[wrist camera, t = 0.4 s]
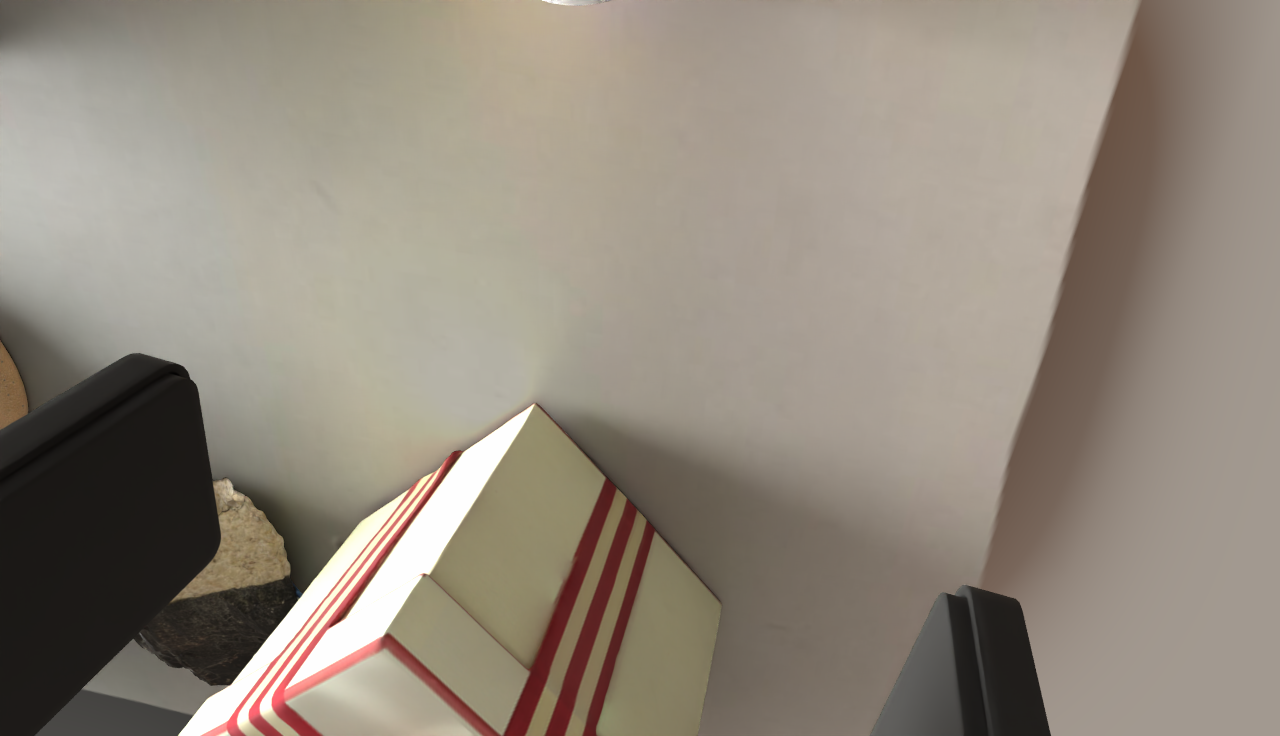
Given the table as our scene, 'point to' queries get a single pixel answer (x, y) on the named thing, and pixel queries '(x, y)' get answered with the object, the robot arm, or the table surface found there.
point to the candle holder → (10, 391)
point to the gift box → (488, 613)
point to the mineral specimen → (227, 597)
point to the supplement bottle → (576, 2)
